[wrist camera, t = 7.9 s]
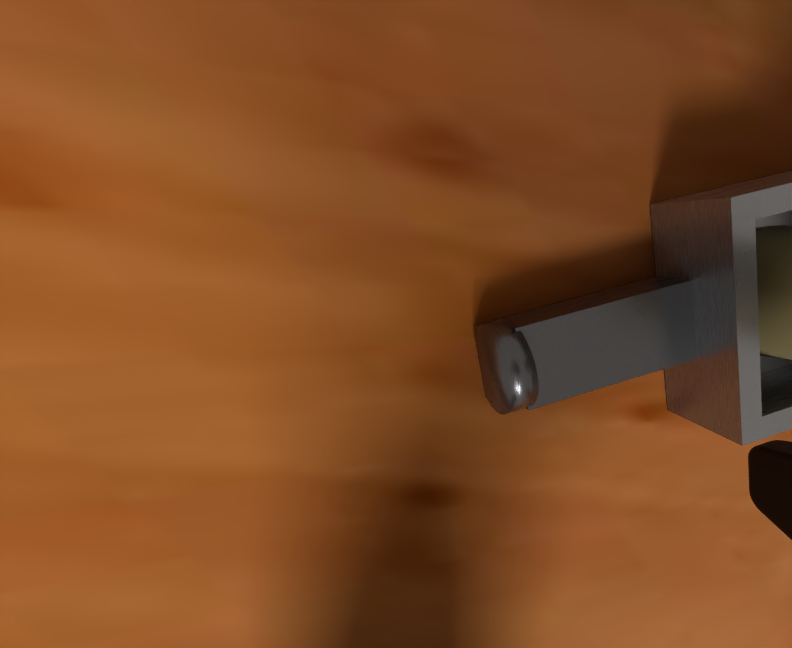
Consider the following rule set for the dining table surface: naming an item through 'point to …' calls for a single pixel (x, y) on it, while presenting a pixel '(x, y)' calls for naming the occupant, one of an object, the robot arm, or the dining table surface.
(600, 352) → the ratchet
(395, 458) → the dining table surface
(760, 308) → the cork
